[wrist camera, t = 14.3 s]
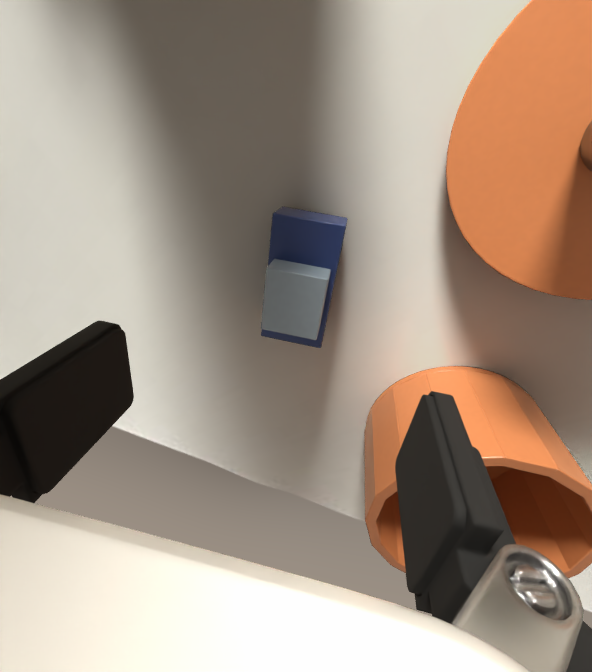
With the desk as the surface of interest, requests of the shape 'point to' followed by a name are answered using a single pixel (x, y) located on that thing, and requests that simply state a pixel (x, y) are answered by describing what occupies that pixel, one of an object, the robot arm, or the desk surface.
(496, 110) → the lid
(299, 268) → the blue and grey blocks
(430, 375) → the tin
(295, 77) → the desk surface
